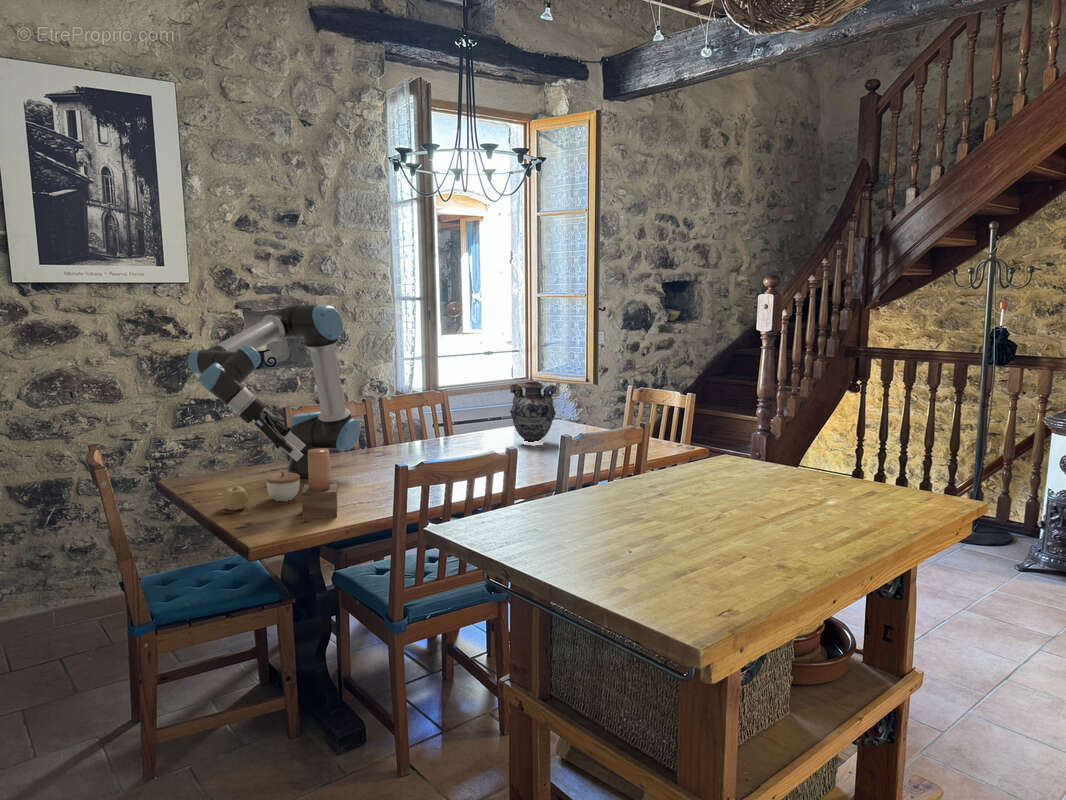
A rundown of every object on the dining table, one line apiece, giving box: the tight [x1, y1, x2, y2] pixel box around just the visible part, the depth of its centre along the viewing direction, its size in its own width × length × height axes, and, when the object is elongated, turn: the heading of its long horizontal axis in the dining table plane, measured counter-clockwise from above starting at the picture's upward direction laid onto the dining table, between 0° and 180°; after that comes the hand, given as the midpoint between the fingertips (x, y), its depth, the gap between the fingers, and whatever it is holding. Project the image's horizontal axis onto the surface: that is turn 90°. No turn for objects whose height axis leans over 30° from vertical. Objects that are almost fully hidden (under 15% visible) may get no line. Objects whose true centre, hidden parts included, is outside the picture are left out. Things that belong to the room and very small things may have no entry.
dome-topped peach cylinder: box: [308, 448, 331, 491], centre depth 232 cm, size 6×6×12 cm
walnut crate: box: [301, 483, 339, 520], centre depth 234 cm, size 10×10×8 cm
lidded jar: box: [265, 470, 301, 502], centre depth 249 cm, size 11×11×9 cm
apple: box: [221, 485, 250, 511], centre depth 238 cm, size 8×8×8 cm
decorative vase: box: [509, 381, 558, 442], centre depth 340 cm, size 21×19×28 cm
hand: (301, 453), depth 230 cm, fingers open, 13 cm apart
